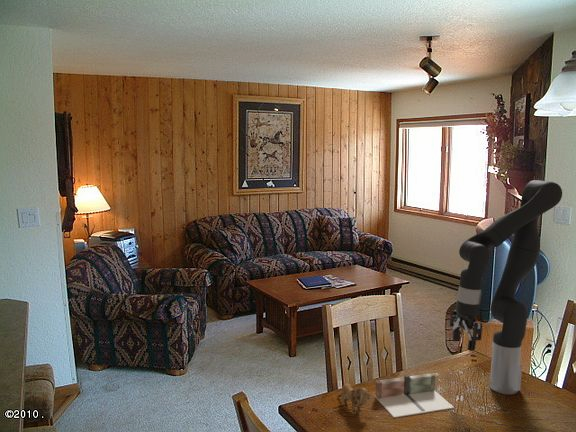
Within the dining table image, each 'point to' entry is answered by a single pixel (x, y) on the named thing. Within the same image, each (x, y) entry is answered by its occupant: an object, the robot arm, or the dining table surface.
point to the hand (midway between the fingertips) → (463, 345)
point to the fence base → (419, 383)
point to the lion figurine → (355, 396)
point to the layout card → (414, 403)
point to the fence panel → (389, 387)
